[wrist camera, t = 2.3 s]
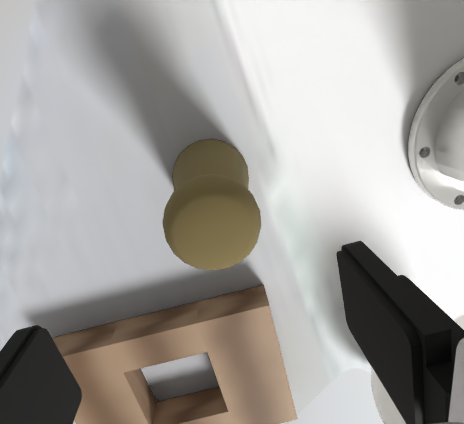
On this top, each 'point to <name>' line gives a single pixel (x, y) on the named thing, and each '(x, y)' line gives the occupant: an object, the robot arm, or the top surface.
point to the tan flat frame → (176, 347)
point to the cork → (211, 207)
